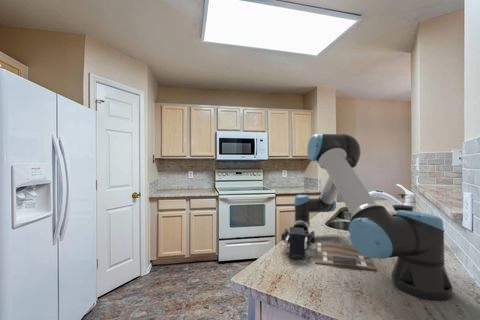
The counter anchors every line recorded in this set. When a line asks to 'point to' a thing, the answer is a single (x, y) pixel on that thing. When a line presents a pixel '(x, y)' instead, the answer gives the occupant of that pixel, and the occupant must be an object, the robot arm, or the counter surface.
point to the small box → (296, 243)
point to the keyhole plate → (342, 257)
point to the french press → (402, 206)
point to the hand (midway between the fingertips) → (295, 244)
